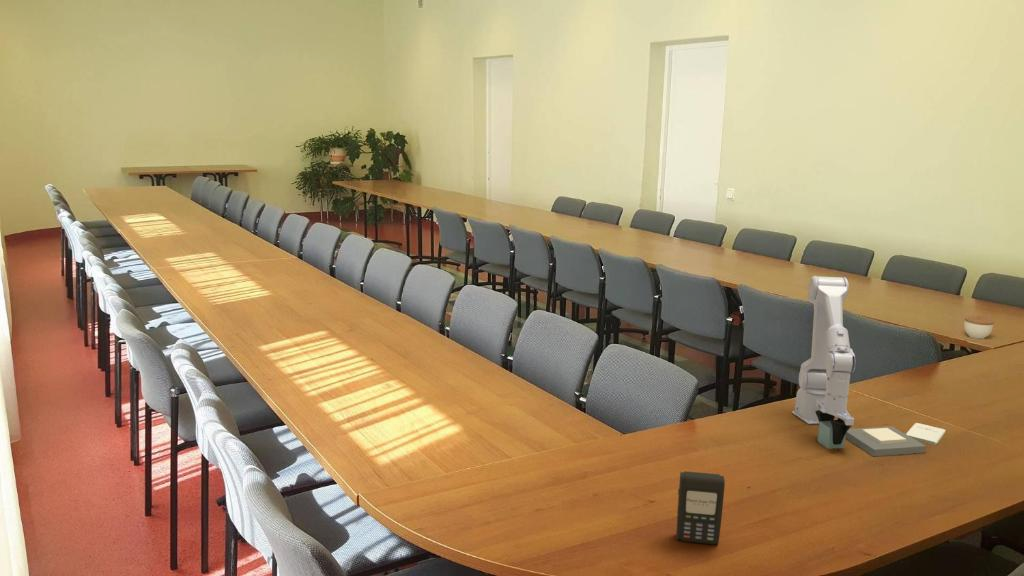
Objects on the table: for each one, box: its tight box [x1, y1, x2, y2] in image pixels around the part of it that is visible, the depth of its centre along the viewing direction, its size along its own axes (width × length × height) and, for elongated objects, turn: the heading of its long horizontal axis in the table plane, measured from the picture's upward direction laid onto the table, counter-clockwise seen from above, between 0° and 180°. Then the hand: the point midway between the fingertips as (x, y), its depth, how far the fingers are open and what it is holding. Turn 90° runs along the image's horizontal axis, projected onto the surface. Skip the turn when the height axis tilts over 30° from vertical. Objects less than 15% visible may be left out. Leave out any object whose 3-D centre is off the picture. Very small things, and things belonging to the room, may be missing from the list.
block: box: [816, 421, 846, 450], centre depth 217 cm, size 5×5×6 cm
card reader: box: [676, 471, 726, 545], centre depth 165 cm, size 9×4×15 cm, turn 81°
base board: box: [845, 425, 927, 457], centre depth 218 cm, size 14×16×3 cm
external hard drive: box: [905, 422, 946, 446], centre depth 226 cm, size 2×8×12 cm
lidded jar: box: [963, 314, 995, 340], centre depth 332 cm, size 11×11×9 cm
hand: (831, 439), depth 217 cm, fingers closed on block, 5 cm apart
